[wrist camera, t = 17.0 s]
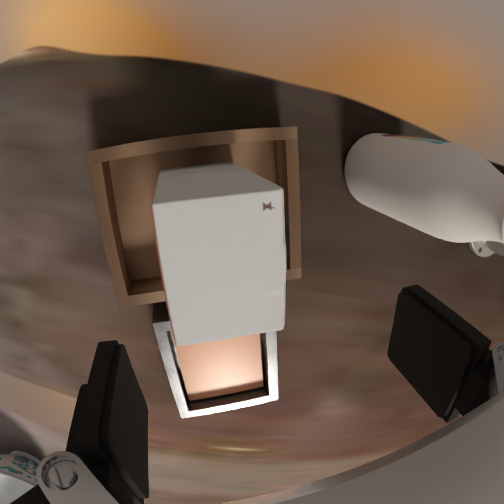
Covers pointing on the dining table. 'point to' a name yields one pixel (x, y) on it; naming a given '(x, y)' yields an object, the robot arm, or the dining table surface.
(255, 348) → the spring pad
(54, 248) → the dining table surface
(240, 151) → the walnut trough
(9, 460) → the chinaware
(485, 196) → the milk bottle
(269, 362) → the frame
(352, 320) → the dining table surface
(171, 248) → the small box
